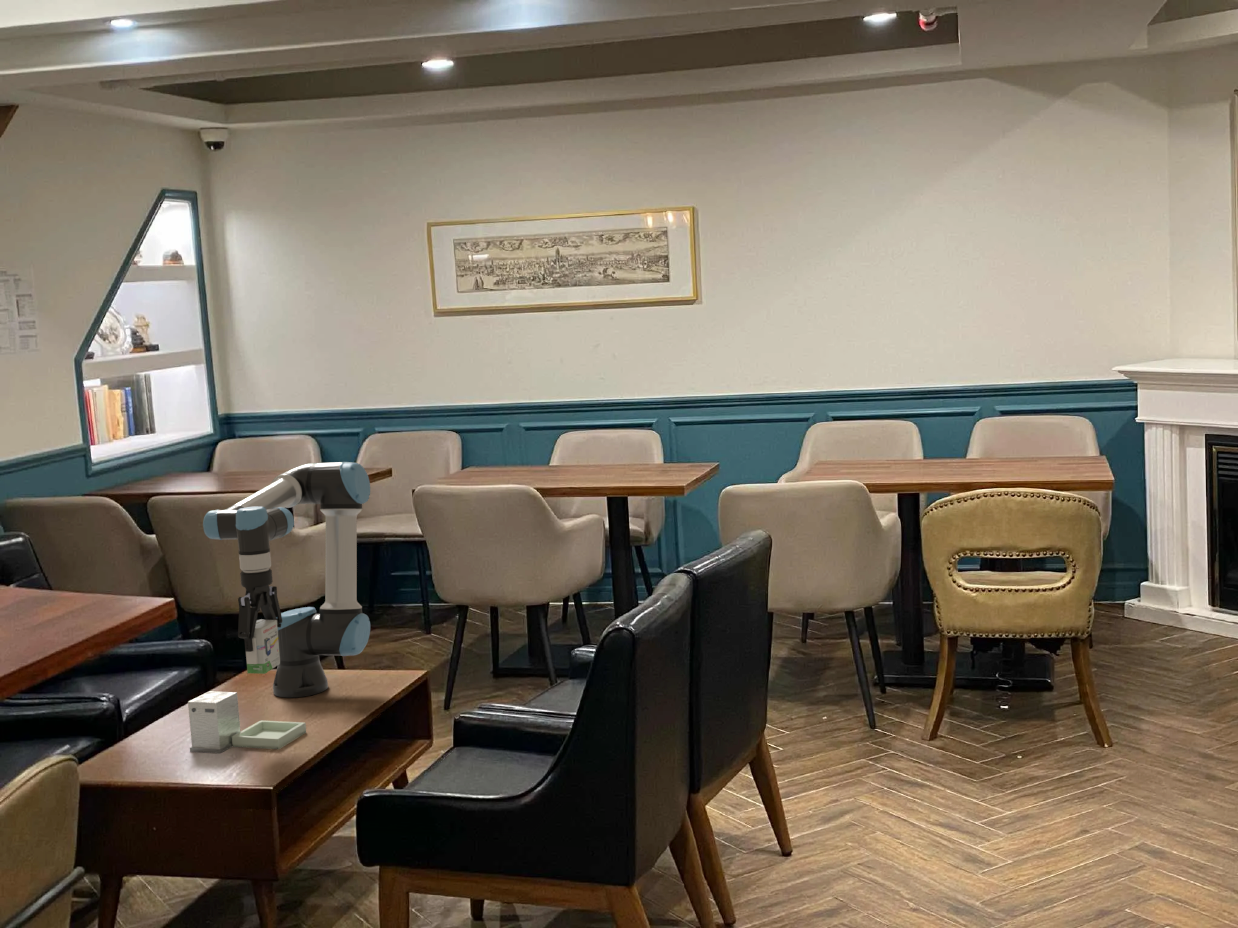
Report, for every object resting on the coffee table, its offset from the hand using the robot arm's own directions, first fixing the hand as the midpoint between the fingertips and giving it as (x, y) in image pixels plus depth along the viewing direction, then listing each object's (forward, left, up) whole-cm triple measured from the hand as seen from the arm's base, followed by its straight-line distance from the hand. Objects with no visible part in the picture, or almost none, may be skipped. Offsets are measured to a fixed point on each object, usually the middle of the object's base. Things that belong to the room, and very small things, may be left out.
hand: (263, 658), depth 327 cm
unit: (+7, -11, -21) cm, 24 cm away
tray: (0, 0, -21) cm, 21 cm away
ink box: (0, 0, -3) cm, 3 cm away
